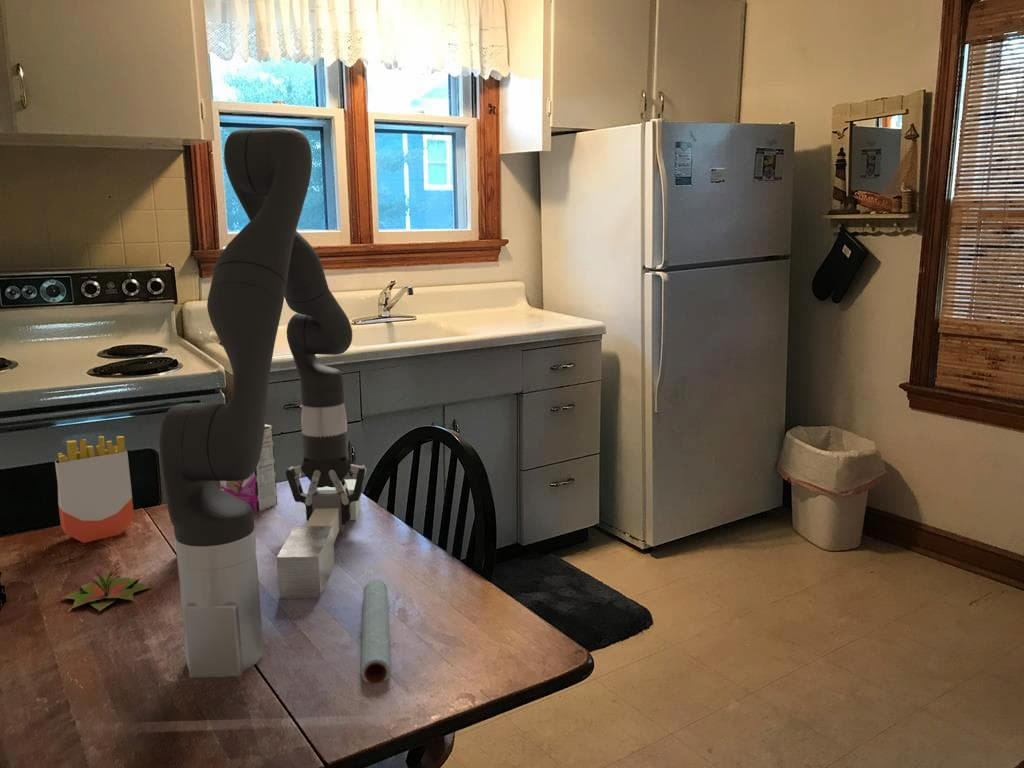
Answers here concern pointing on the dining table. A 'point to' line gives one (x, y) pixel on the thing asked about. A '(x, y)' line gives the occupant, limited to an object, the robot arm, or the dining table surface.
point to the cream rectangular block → (305, 562)
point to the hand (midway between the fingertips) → (329, 523)
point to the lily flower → (106, 590)
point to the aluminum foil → (375, 633)
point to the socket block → (354, 505)
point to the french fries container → (94, 490)
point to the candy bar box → (257, 479)
